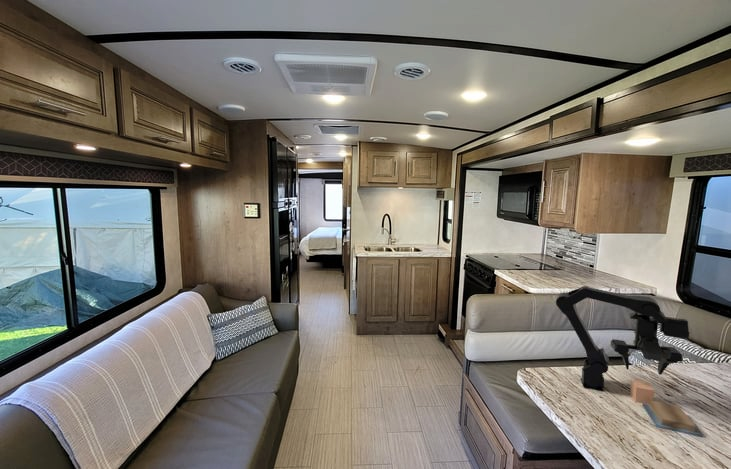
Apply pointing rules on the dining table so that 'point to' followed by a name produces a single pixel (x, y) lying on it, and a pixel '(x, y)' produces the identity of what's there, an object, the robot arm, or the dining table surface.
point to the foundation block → (670, 418)
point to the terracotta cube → (641, 392)
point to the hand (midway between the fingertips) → (643, 371)
